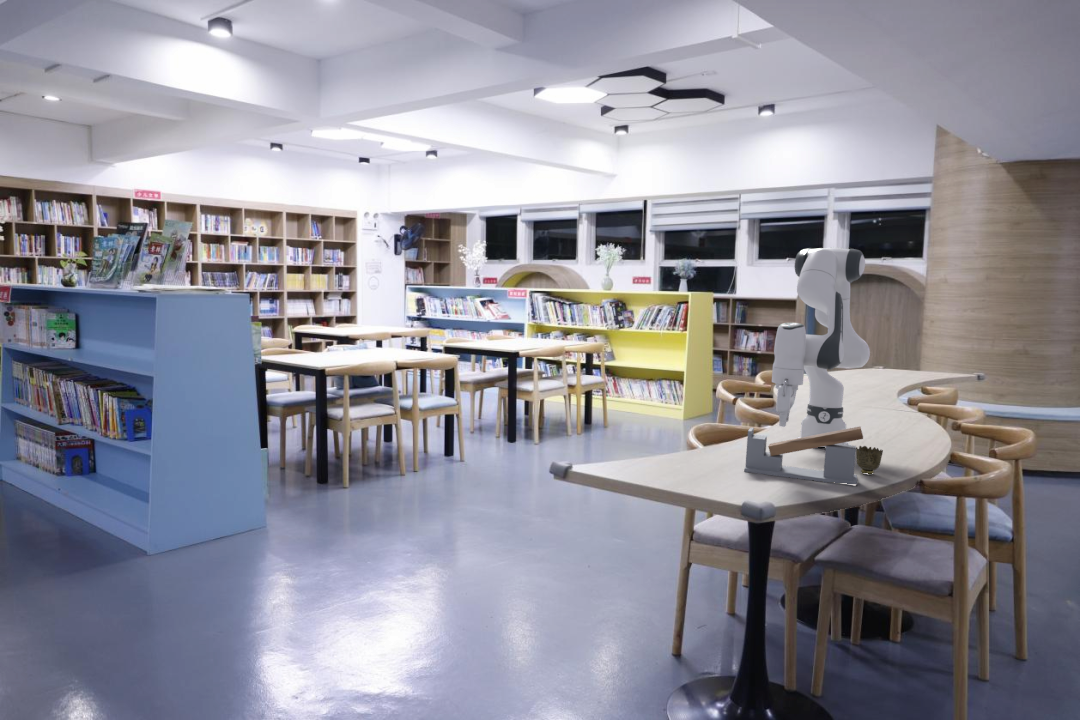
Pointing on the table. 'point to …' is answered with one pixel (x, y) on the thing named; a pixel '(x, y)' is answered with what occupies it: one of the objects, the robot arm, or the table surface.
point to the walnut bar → (816, 441)
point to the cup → (868, 459)
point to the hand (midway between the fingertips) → (783, 423)
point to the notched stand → (835, 468)
